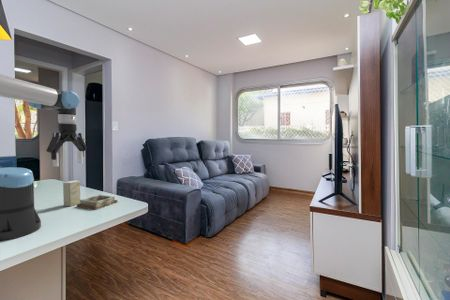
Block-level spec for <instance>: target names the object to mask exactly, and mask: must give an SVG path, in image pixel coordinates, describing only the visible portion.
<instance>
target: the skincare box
mask: <svg viewBox="0 0 450 300" xmlns="http://www.w3.org/2000/svg"><path fill="white" fill-rule="evenodd" d="M62 187H63V189H62V190H63V192H62V193H63V206H64V207H72V206H73V207H74V206H77V204H79V203H80V200H81V180H76V179H75V180H69V181H63V182H62Z"/></svg>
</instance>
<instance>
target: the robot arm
mask: <svg viewBox="0 0 450 300" xmlns="http://www.w3.org/2000/svg"><path fill="white" fill-rule="evenodd" d="M0 97H1V98H6V99H7V98H8V99H12V100H13V99H14V100H18V101H23V102H27V103H28V105H29V107H30V108H33V109H38V110H49V111H57V122H58V131H59V132H53V133H52V137H51V139H50V141H49V144H48V146H47V148H46V152H47V153H50V156H51V157H50V158H51V160H52V167H59V164H60V162H59V161H60V160H59V150H60V149H61V147H62V146H63V144H65V143H66V142H68V143H69V142H70V143H72V144H73V145H74V146H75V147H76V149H77V163H78V164H83V163H84V157H85V154H84V152H85V151H86V150H87V149H88V147H87V145H86V144H85V141H84V138H83V137H82V136H83V135H82V132H77V129H78V128H77V107H78V106H79V105H80V97H79V95H78V94H77V93H76V92H74V91H71V90H60V89H57V88H56V89H55V88H52V87H48V86H45V85H41V84H37V83H34V82H30V81H26V80H23V79H19V78H16V77H11V76H8V75H5V74H0ZM34 181H35V178H34V174H33V171H32V170H31V169H28V168H25V167H16V166H14V167H13V166H12V167H11V166H10V167H2V166H1V164H0V241H5V240H6V241H7V240H11V239H17V238H19V237H23V236H26V235H30V234H33V233H35V232H36V231H37V230H39V229H41V227H42V219H41V218H40V216H39V214H38V212H37V209H35V186H34V185H35V184H34Z"/></svg>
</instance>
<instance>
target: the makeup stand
mask: <svg viewBox="0 0 450 300" xmlns="http://www.w3.org/2000/svg"><path fill="white" fill-rule="evenodd" d="M116 202H117V203H118V199H115V196H112V195H111V196H109V195H103V194H97V195H94V196H90V197H86V198H83V199H82V198H81V199H80V203H79V204H76V207H78V208H81V209H82V208H83V209H89V210H95V211H96V210H100V209H102V207H103V208H105V206H106V207H108V206H111V205H114V204H116ZM113 203H114V204H113ZM110 204H111V205H110Z"/></svg>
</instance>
